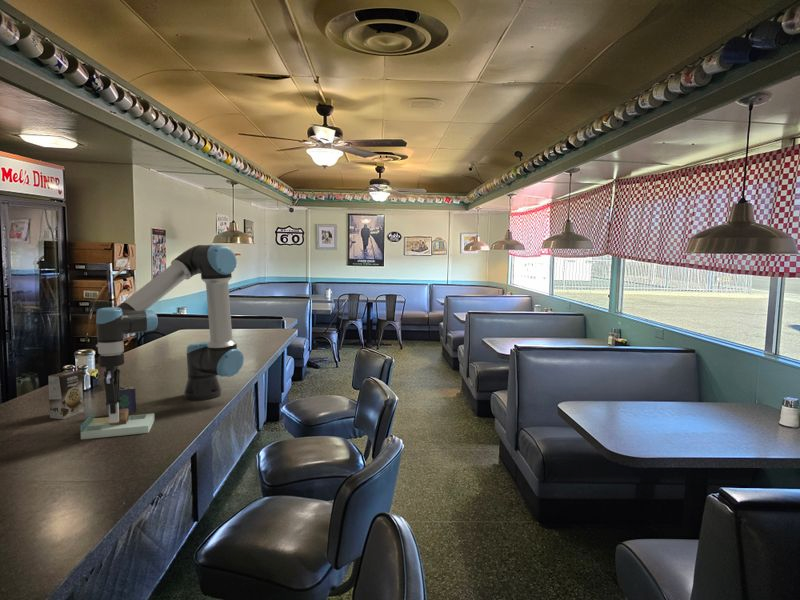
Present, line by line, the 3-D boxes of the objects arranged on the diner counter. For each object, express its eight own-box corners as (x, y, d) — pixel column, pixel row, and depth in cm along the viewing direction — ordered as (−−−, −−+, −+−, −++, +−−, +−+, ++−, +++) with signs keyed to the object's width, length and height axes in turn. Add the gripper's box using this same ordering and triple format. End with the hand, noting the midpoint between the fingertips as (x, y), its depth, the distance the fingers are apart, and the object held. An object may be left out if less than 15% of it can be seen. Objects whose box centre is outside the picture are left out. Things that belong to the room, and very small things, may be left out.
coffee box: (64, 419, 182) (61, 376, 181) (49, 418, 183) (47, 375, 182) (84, 412, 191) (82, 370, 189) (70, 410, 192) (68, 370, 191)
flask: (106, 416, 186) (105, 386, 185) (106, 414, 188) (105, 384, 187) (136, 412, 191) (135, 383, 190) (136, 410, 193) (135, 381, 192)
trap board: (154, 419, 182) (154, 408, 182) (148, 432, 169) (147, 420, 169) (92, 425, 176) (91, 413, 175) (80, 439, 163) (80, 426, 162)
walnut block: (128, 419, 175) (128, 408, 175) (126, 423, 170) (125, 412, 170) (112, 420, 173) (112, 409, 173) (109, 425, 169) (108, 413, 168)
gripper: (103, 350, 171) (106, 417, 173) (93, 358, 159) (97, 429, 161) (127, 349, 174) (130, 415, 176) (119, 356, 162) (122, 427, 164)
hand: (114, 421), depth 169 cm, fingers closed
